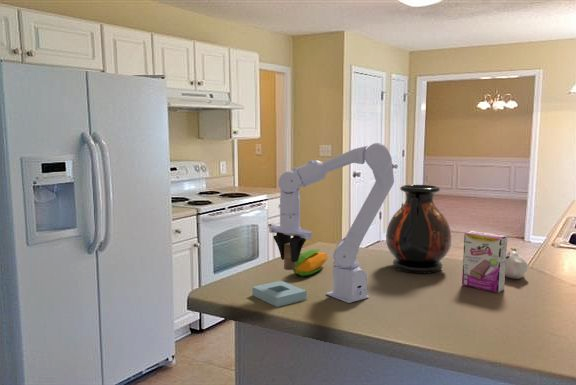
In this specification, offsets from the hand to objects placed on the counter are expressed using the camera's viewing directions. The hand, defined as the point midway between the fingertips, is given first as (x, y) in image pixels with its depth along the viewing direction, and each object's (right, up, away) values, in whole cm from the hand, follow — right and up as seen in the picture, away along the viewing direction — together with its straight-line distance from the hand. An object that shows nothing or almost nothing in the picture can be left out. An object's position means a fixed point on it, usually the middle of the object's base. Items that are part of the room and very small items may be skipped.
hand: (289, 260), depth 146 cm
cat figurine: (+71, -8, +17) cm, 74 cm away
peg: (0, -2, 0) cm, 2 cm away
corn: (+7, -7, +23) cm, 25 cm away
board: (-3, -10, -4) cm, 11 cm away
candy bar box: (+58, -9, +6) cm, 59 cm away
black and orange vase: (+44, -7, +27) cm, 52 cm away
